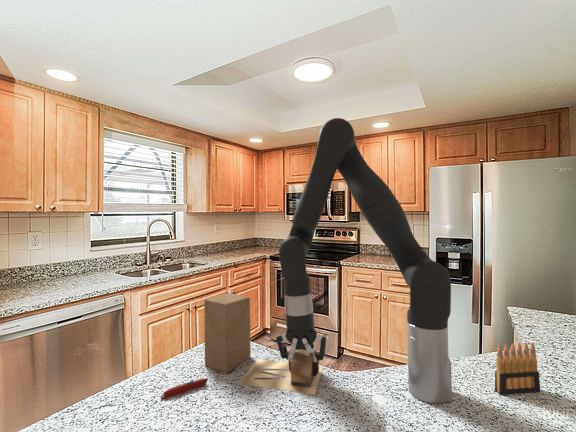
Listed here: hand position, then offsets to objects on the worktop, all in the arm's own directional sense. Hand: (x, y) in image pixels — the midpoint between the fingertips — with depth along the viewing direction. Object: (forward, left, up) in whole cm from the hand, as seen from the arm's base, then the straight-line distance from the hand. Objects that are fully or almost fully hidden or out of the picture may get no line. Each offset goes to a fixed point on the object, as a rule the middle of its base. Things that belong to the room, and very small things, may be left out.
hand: (304, 373), depth 79 cm
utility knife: (+29, +11, -3) cm, 31 cm away
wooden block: (+25, -5, -3) cm, 26 cm away
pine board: (+6, 0, -2) cm, 7 cm away
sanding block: (0, 0, -1) cm, 1 cm away
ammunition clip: (-53, -9, -3) cm, 53 cm away
